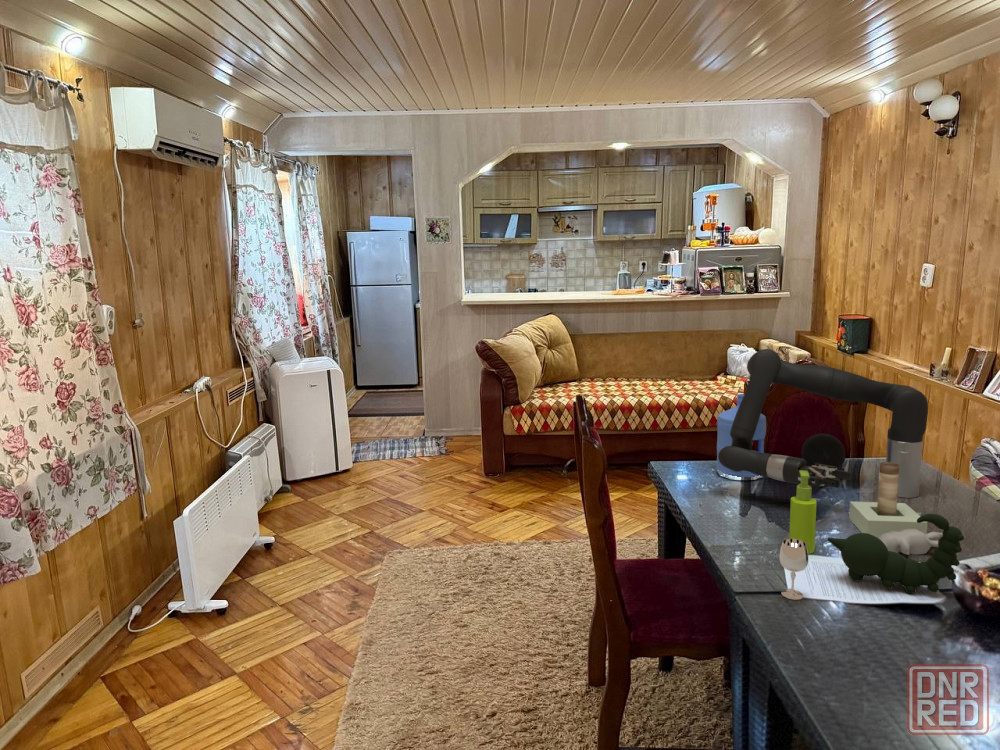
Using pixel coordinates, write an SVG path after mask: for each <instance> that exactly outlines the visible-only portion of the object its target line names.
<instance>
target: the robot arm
mask: <svg viewBox="0 0 1000 750" xmlns="http://www.w3.org/2000/svg"><path fill="white" fill-rule="evenodd" d="M746 368H747V371H748V374H749V380H748V383H747V386H746V389H745V393H744V394H745V395H744V397H743V399H742V401H741V404H740V406H739V408H738V410H737V413H736V416H735V418H734V421H733V424H732V428H731V431H730V436H731V438H732V445H731V446H726V447H724V448H722V449H721V450H720V452H719V454H718V459H719V461H720V463H721V464H722V465H723V466H724V467H726V468H728V469H730V470H732V471H735V472H740V471H742V470H744V471H748V472H751V473H753V474H756V475H760V476H764V477H765V478H766V477H767V478H771V479H773V480H777V481H781V482H787V483H790V484H791V483H792V484H796V485H799V484H801V476H800V473H799V470H802V471H808V473H809V478H808V485H809V486H811V487H815V488H819V487H824V486H826V487H827V486H828V487H832V488H837V489H839V488H840V487H841V480H839V479H834V478H840V479H842V480H847V481H850V480H851V479H852V472H850V471H846V470H845V471H844V470H839V469H837V467H836V466H829V465H823V464H818V463H817V464H815V466H808V465H807V463H806V461H805V460H804V459H803V458H802V457H794V456H789V455H782V454H772V453H766V452H764V453H762V452H758V451H757V452H754V451H755V450H753V449H752V448H753V447H752V446H753V440H752V439H753V436H754V434H755V430H756V427H757V424H758V421H759V418H760V414H762V410H763V408H764V404H765V401H766V398H767V395H768V393H769V391H770V389H771V386H772V384H773V383H774V384H775V383H776V384H781V385H786V386H790V387H793V388H797V389H800V390H802V391H805V392H809V393H812V394H816V395H819V396H823V397H826V398H829V399H834V400H839V401H844V402H845V401H846V402H857V403H867V404H870V405H874V406H877V407H881V408H883V409H886V410H888V411H890V412H891V422H890V423H891V424H890V427H889V428H888V429H887V434H886V435H887V439H886V453H885V454H886V455H885V456H886V457H885V462H890V463H895V464H898V465H899V477H898V493H897V498H904V499H905V498H906V499H907V498H908V499H911V498H917V497H919V495H920V484H921V470H922V457H923V456H922V455H923V441H924V439H923V438H924V435H925V433H926V430H927V424H928V423H927V421H928V413H929V411H928V410H929V403H928V402H929V401H928V399H927V396H926V395H925V394H924V393H923V392H921V391H920V390H918V389H916V388H915V387H913V386H909V385H903V384H896V383H891V382H884V381H879V380H874V379H871V378H868V377H865V376H862V375H859V374H858V373H854V372H850V371H846V370H843V369H839V368H836V367H831V366H826V365H816V364H815V365H814V364H801V363H794V362H789V361H787V360H783V359H781V357H780V354H779V353H778V352H776V351H775V350H773V349H771V348H770V349H769V348H764V349H760V350H758V351H756V352H755V353H754V354H753V355H751V356H750V358H749V359H748V361H747V364H746ZM751 450H753V451H751ZM829 471H832V472H829ZM824 474H825V475H824ZM829 477H833V478H829Z"/></svg>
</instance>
